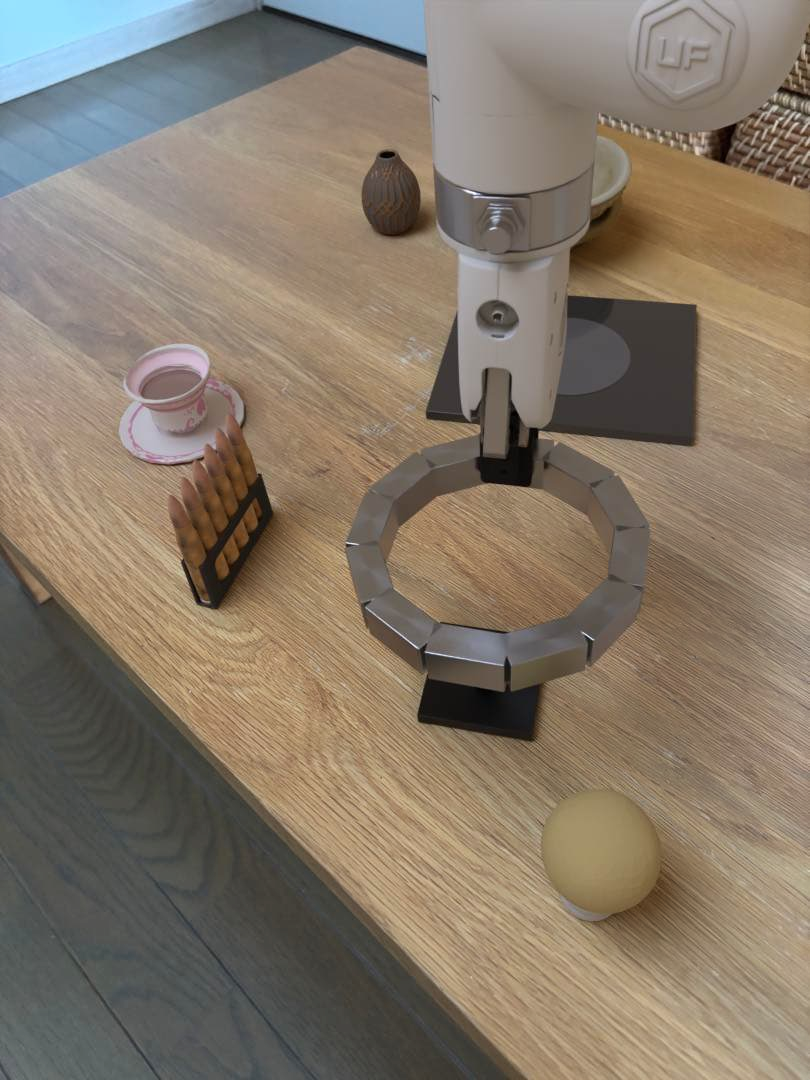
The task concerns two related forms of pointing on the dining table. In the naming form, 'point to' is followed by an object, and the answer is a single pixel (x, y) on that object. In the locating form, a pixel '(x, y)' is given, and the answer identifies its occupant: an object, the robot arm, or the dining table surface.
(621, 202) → the bowl
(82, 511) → the dining table surface
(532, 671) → the steel ring
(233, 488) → the ammunition clip
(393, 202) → the vase
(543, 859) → the light bulb
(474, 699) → the ring stand
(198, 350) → the teacup
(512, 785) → the dining table surface
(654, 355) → the hob plate
